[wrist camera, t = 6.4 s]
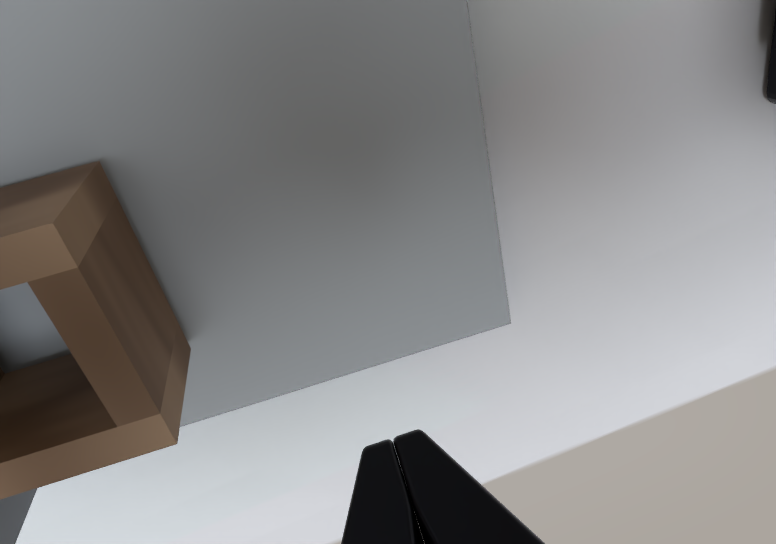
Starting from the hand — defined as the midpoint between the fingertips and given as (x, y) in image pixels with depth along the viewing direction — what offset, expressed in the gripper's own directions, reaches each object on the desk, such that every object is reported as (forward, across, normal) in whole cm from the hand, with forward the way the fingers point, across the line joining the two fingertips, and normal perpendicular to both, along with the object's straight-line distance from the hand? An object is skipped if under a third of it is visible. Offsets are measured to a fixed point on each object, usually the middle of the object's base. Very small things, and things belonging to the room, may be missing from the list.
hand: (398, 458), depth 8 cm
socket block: (+10, +8, 0) cm, 12 cm away
